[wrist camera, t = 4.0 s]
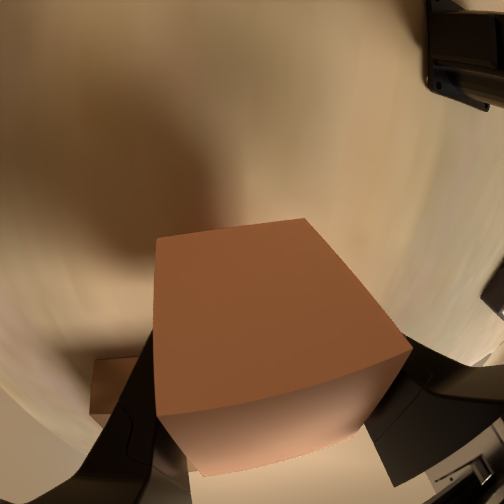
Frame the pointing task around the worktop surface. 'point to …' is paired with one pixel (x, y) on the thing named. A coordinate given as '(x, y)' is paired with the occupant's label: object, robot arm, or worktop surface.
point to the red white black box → (495, 294)
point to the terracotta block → (265, 345)
